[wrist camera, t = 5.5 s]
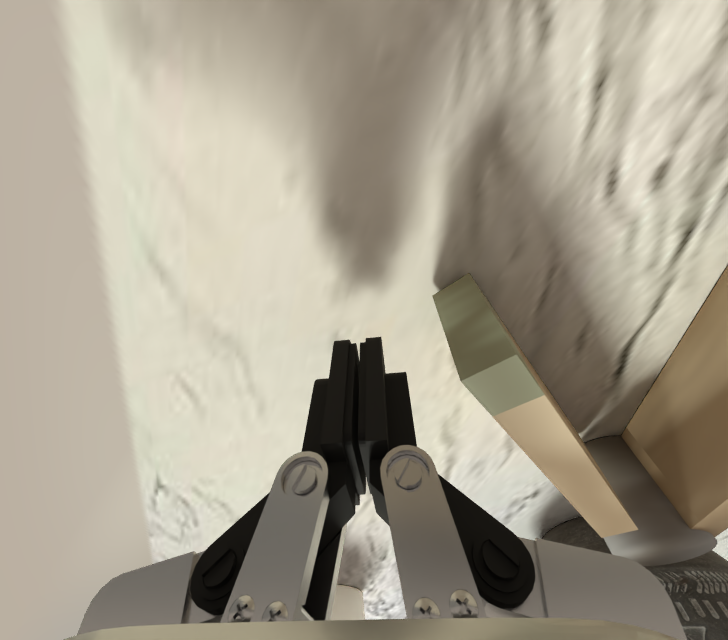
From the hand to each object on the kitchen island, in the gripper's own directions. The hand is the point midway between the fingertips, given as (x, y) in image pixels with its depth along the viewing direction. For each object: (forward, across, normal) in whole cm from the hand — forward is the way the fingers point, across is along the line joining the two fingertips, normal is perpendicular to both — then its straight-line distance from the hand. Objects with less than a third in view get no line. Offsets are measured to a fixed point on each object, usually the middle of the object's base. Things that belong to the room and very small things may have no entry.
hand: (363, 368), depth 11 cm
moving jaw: (+2, -7, +4) cm, 9 cm away
